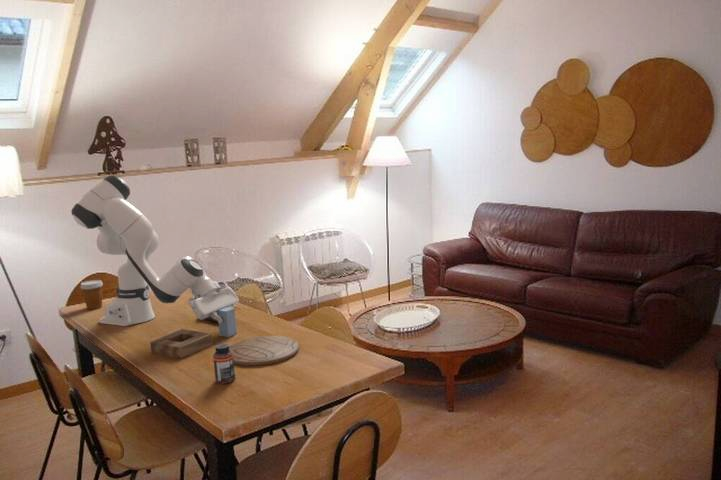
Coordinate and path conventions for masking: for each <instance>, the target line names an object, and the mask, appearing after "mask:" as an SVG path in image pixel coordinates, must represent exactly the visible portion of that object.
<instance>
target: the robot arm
mask: <svg viewBox="0 0 721 480" xmlns="http://www.w3.org/2000/svg"><path fill="white" fill-rule="evenodd" d="M130 194H131V189H130V188H129V186H128V183H127V182H126V181H125V180H124V179H122V178H120V177H119V176H118V175H115V174H114V175H112V174H111V175H107V177H104V178H103V179H102V181H100V182H99V183H97V184H96V185H94V186H93V187H92V188H91V189H89V191H87V192H86V193H85V194H84V195H83V196H82V198H81V199H80V200H79V201H78V202H77V203H76V204H74V206H73V207H72V209H71V215H72V217H73V219H74V221H75V222H76V223H77V224H78V225H80V226H81V227H83V228H85V229H89V230H91V229H92V230H93V229H95V228H97V230H98V231H99V233H98V235H97V237H96V247H97V248H98V251H100V252H101V253H102V254H105V255H106V254H107V255H112V256H120V255H122V256H125V255H126V256H127V260H126V262H125V263H123V264H122V265H121V266H119V268H118V270H117V272H116V273H117V278H118V279H117V282H118V288H117V289H115V290H114V294H116V297H115V298H114V299H112V300H111V301H110V303H108V304H107V305H106V306H105V308H104V316H103V317H101V318H100V319H99V321H98V323H100V324H103V325H104V324H105V325H112V326H120V327H121V326H122V327H128V326H131V325H136V324H142V323H146V322H149V321H150V320H153V319H155V318H156V315H155V312H154V310H153V307H152V303H151V300H150V299H151V298H150V289H151V291H152V292H153V294H154V296H155V297H156V298H157V300H159V302H161V303H162V304H174V303H176V301H177V300H178V299H179V298H180V297H181V295H182V294H184V293H185V292H186V291H187V290H188V289H189V290H190V291H191V294H192V296H193V297H190V298H189V299H188V301H187V302H188V303H187V304H188V305H189V307H191V309H192V312H193V313H194V315H195V317H196V318H197V319H199V320H201V321H203V320H204V319H205V318H207V317H210V316H211V317H212V318H213V319H215V320H217V321H218V322H219V323H223V322H224V319H223V317H220V316H218V315H217V310H220V309H222V308H225V307H230V308H234V307H236V306H237V304H239V302H240V299H239V297H238V296H237V294H236V293H235V291H234V290H233V289H232V288H231V287H229V286H228V283H227V282H226V281H216V280H212V278H211V277H210V276H208V275H207V273H206V271H205V269H204V268H203V267H202V266H201V265H200V264H199V262H198V261H196V260H195V259H194V258H193V257H192V256H188V255H187V256H182V257H180V258H179V259H178V260H177V261H176V262H175V263H174V265H173V266H172V267H171V268H170V269H169V270H168V271H167V272H166V273H165V274H163V275H162V276H158V275H157V273H156V272H155V271H154V269H153V268H152V266H151V265H150V263H148V261H149V258H150V256H151V255H152V254H153V253H155V251H156V250H158V247H159V244H160V239H159V236H158V234H157V232H156V231H155V230H154V226H153V223H152V222H151V221H150V220H149V219H148V218H147V217H146V215H144V214H143V212H141V211H140V210H139V209H138V208H136V207H135V205H134V204H131V203H130V202H128V201H127V199H128V198H129V196H130ZM218 322H217V323H218Z"/></svg>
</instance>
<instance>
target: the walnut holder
mask: <svg viewBox="0 0 721 480" xmlns="http://www.w3.org/2000/svg"><path fill="white" fill-rule="evenodd" d="M149 343H150V344H149V345H150V353H152V354H156V355H161V356H165V357H170V358H171V357H172V358H176V359H181V360H182V359H185V358H187V357H189V356H191V355H193V354H195V353H197V352H199V351H202V350H204V349H206V348H208V347H210V346H212V345H214V344H213V343H214V341H213V333H209V332H203V331H198V330H197V331H196V330H191V329H185V328H181V329H178V330H175V331H174V332H171V333H169V334H166V335H164V336H161V337H158V338H156V339H154V340H152V341H150V342H149Z"/></svg>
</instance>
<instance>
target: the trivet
mask: <svg viewBox="0 0 721 480" xmlns="http://www.w3.org/2000/svg"><path fill="white" fill-rule="evenodd" d="M229 350H230V351H232V353H233V360H234V366H235V365H236V366H239V367H240V366H241V367H265V366H271V365H275V364H279V363H282V362H285V361H287V360H290V359H292V358H293V357H295V356H296V355H297V354H298V352H299V350H300V349H299V343H298V341H297V340H295V339H294V338H291V337H288V336H283V335H262V336H261V335H260V336H255V337H253V336H252V337H249V338H246V339H243V340H239V341H236V342H234V343H232V344H231V345H229Z"/></svg>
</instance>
